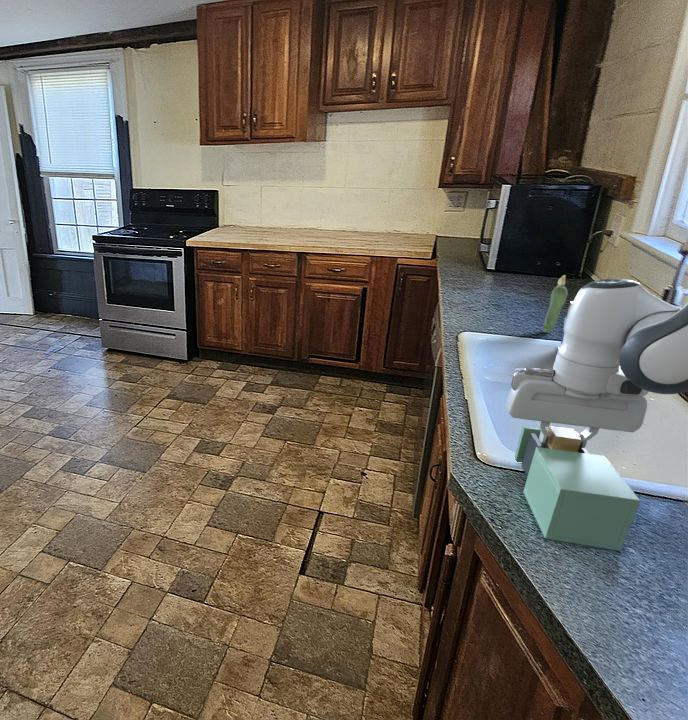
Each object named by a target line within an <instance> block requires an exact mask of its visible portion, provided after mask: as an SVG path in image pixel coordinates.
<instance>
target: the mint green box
mask: <svg viewBox="0 0 688 720" xmlns="http://www.w3.org/2000/svg"><path fill="white" fill-rule="evenodd" d="M522 491H523V492H522V494H523V495H524V497H525V499H526V502H527V503H528V506H529V508H530V510H531V512H532V514H533V516H534V518H535V520H536V522H537V525H538V527H539V529H540V531H541V533H542V535H543V537H544V539H546V540H552V541H557V542H562V543H563V542H564V543H570V544H576V545H582V546H588V547H592V548H593V547H594V548H600V549H605V550H611V551H619V552H621V551H622V548H623V546H624V544H625V541H626V538H627V536H628V533H629V531H630V529H631V525H632V523H633V520H634V518H635V516H636V513H637V512H638V511H637V510H638V508H639V505H640V503H641V499H640V498H639V497H638V495H637V494H636V493H635V492H634V491H633V489H632V488H631V486H630V485H629V484H628V482H626V481H625V479H624V478H623V477H622V476H621V474H620V473H619V472H618V470H617V468H615V466H614V465H613V464H612V463H611V462H610V460H609V459H608V458H607V456H605V455H600V454H593V453H589V454H586V453H578V452H570V451H563V450H555V449H547V448H540V447H536V449H535V453H534V456H533V460H532V463H531V467H530V470H529V474H528V477H527V476H526V481H525V485H524V487H523V490H522Z"/></svg>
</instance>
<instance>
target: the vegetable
mask: <svg viewBox="0 0 688 720" xmlns="http://www.w3.org/2000/svg"><path fill="white" fill-rule="evenodd" d="M566 277H567V274H564V275H562V276H561V277H560V278H559V279H558V281H557V285H556V286H555V287H553V289H552V291H551V294H550V300H549V307H548V310H547V312H546V315H545V318H544V322H543V333H549V334H550V333H551V332H552V331H547V330H554V329H555V326H556V324H557V322H558V319H559V316H560V314H561V311H562V309H563V306H564V305H565V302H566V299H567V296H568V289H567V287H566V286H565V285H566Z"/></svg>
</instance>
